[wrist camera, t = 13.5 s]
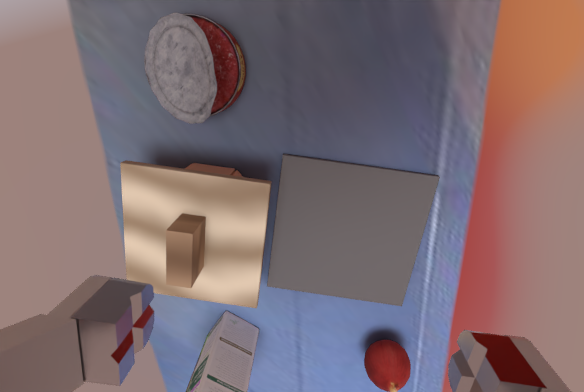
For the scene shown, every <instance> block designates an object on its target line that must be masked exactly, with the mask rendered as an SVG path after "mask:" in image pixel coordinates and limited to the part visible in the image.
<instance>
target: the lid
mask: <svg viewBox="0 0 584 392" xmlns="http://www.w3.org/2000/svg"><path fill="white" fill-rule="evenodd" d="M121 181H122V200H123V219H124V238H125V257H126V275H127V280H130V281H136V282H142V283H148V284H151V285H152V286H153V291H154V293H157V294H164V295H171V296H177V297H184V298H191V299H198V300H204V301H211V302H218V303H225V304H231V305H238V306H245V307H252V308H257V305H258V298H259V289H260V280H261V271H262V262H263V253H264V244H265V235H266V226H267V217H268V208H269V199H270V190H271V181H267V180H260V179H253V178H246V177H239V176H232V175H225V174H218V173H211V172H204V171H197V170H190V169H183V168H176V167H168V166H161V165H154V164H147V163H140V162H133V161H124V162H121Z"/></svg>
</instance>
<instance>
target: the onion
mask: <svg viewBox="0 0 584 392" xmlns="http://www.w3.org/2000/svg"><path fill="white" fill-rule="evenodd" d="M364 365H365V368H366V372H367V374H368V377H369V378H370V380H371V381H372V382H373V383H374V384H375V385H376V386H377V387H379V388H380V389H382V390H385V391H389V392H397V391H398V390H399V389H401V388H402V387H403V386H404V385H405V384H406V382H407V381H408V379H409V377H410V360H409V357H408V355H407V353H406V351H405V349H404V348H402V347H401V346H400V345H399V344H398V343H397V342H394V341H392V340H380V341H376V342H375V343H373V344H371V345H370V347H369V348H368V349H367V351H366V353H365V359H364Z"/></svg>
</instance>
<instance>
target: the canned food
mask: <svg viewBox="0 0 584 392" xmlns="http://www.w3.org/2000/svg"><path fill="white" fill-rule="evenodd" d="M144 63H145V72H146V76H147V79H148V82H149V84H150V86H151V89H152V91H153V92H154V94H155V95H156V97H157V98H158V100H159V102H160V103H161V105H162V107H164V108H165V109H166V110H167V111H169V112H170V113H171V114H172V115H173V116H174V117H175V118H177V119H180V120H183V121H185V122H187V123H189V124H192V123H203V122H204V121H205V120H206V119H207V118H208V117H210V116H212V115H215V114H217V113H219V112H221V111H224V110H225V109H227V108H228V107H230V106H231V105H232V104H233V103H234V102H235V101H236V100H237V98H238V97H239V95H240V94H241V91H242V89H243V86H244V82H245V77H246V65H245V60H244V56H243V53H242V50H241V48H240V46H239V44H238V42H237V41H236V39H235V38H234V37H233V36H232V34H231V33H230V32H229V31H228V30H226V29H225V28H224V27H223V26H221V25H219V24H217V23H215V22H214V21H212V20H210V19H208V18H206V17H204V16H200V15H196V14H179V13H176V12H175V13H172V14H170V15H168V16H165V17H162V18H160V19H159V21H158V22H157V24H156V25H155V26H154V27H153V29H152V30H151V31H150V34H149V39H148V42H147V45H146V48H145V59H144Z"/></svg>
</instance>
